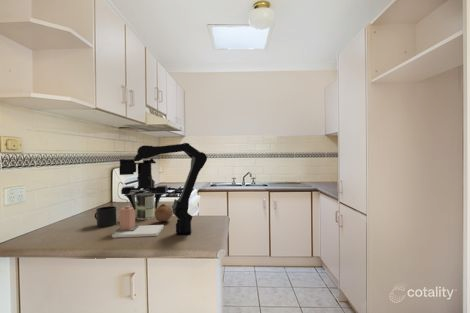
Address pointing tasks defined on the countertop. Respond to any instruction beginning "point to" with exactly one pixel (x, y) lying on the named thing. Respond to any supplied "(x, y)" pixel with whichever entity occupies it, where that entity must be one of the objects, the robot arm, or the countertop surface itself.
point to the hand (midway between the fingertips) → (145, 209)
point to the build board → (139, 231)
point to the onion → (163, 213)
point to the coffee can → (145, 206)
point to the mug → (106, 216)
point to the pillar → (127, 218)
